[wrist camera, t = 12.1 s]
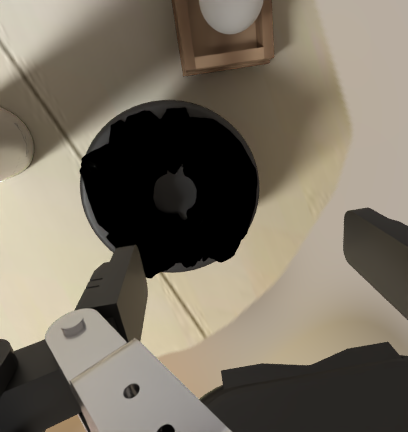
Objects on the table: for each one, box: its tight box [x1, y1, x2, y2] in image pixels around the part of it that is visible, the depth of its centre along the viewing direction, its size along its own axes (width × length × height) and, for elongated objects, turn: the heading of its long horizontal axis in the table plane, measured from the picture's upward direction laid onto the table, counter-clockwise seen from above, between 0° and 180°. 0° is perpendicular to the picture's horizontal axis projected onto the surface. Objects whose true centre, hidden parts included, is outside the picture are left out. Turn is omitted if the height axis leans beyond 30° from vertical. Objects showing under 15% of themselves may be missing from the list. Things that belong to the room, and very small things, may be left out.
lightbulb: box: [199, 0, 263, 34], centre depth 30 cm, size 6×6×11 cm
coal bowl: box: [80, 100, 259, 278], centre depth 34 cm, size 20×20×19 cm
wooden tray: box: [172, 0, 274, 76], centre depth 35 cm, size 11×11×4 cm
